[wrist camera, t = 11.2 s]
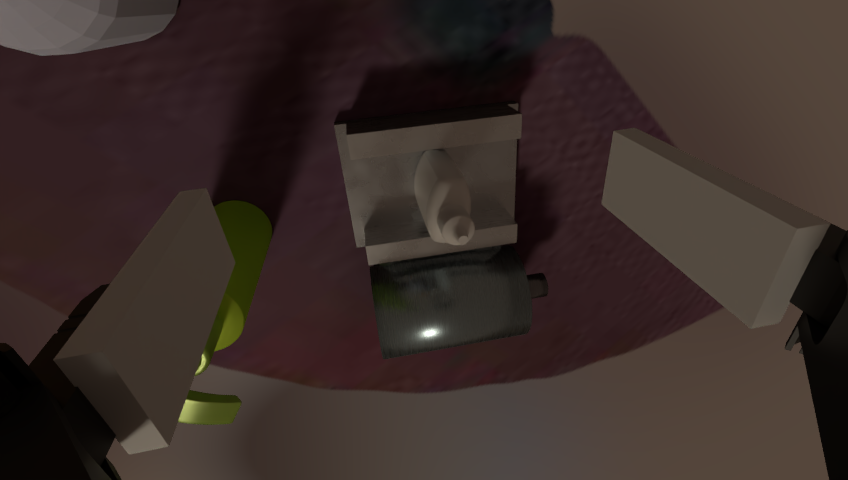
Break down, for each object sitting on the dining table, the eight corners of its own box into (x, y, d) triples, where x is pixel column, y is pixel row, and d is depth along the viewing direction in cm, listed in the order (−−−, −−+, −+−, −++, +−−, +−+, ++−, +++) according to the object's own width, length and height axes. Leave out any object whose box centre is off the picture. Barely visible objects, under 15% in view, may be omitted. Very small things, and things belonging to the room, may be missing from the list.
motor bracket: (334, 122, 36) (331, 155, 28) (535, 98, 38) (585, 123, 30) (370, 319, 47) (375, 381, 39) (524, 293, 49) (558, 348, 41)
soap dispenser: (271, 267, 42) (220, 452, 24) (197, 243, 39) (82, 432, 22) (292, 218, 39) (251, 384, 22) (215, 190, 37) (103, 353, 20)
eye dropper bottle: (395, 191, 39) (413, 257, 28) (430, 140, 37) (463, 191, 26) (433, 213, 40) (463, 283, 30) (468, 165, 39) (513, 222, 28)
